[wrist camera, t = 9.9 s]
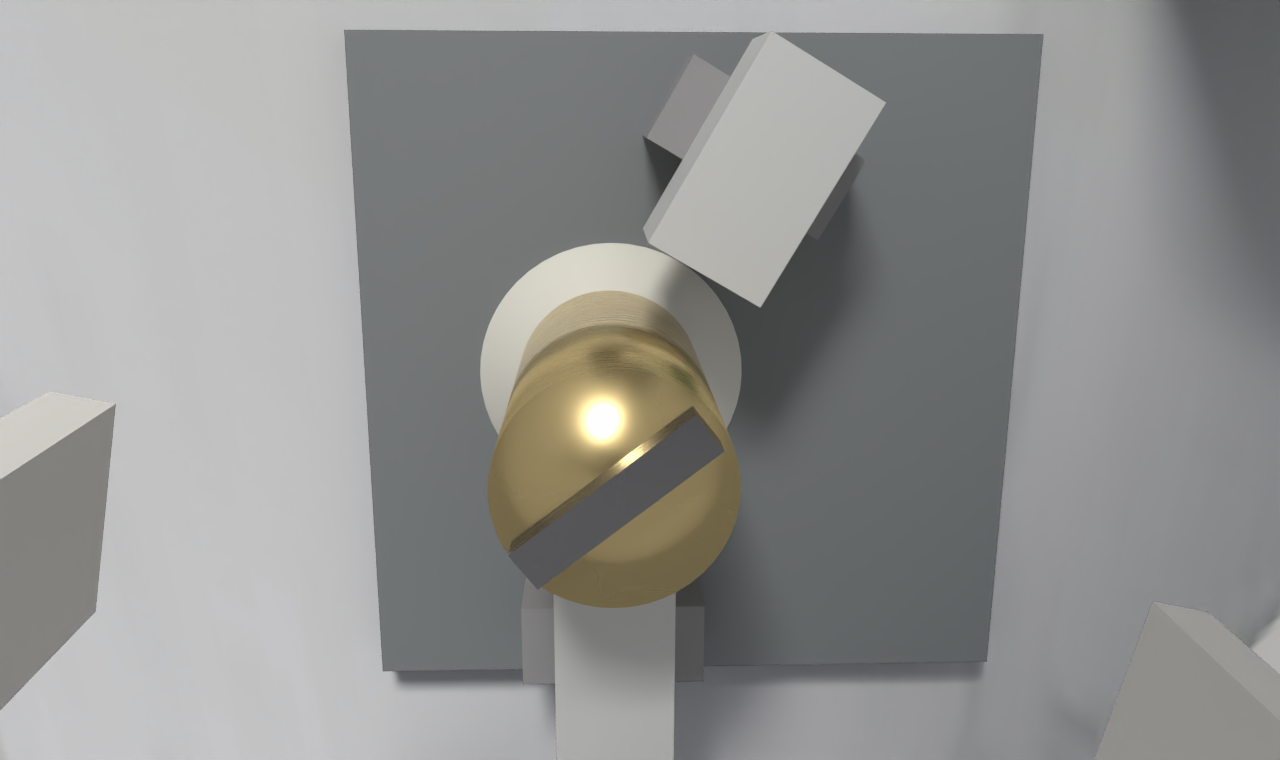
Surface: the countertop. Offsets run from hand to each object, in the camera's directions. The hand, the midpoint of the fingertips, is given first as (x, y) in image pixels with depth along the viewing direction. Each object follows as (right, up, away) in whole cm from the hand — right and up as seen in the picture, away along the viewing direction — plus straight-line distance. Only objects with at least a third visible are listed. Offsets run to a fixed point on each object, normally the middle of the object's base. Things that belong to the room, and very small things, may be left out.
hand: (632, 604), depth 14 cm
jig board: (+1, +3, +14) cm, 15 cm away
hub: (-1, +3, +13) cm, 13 cm away
